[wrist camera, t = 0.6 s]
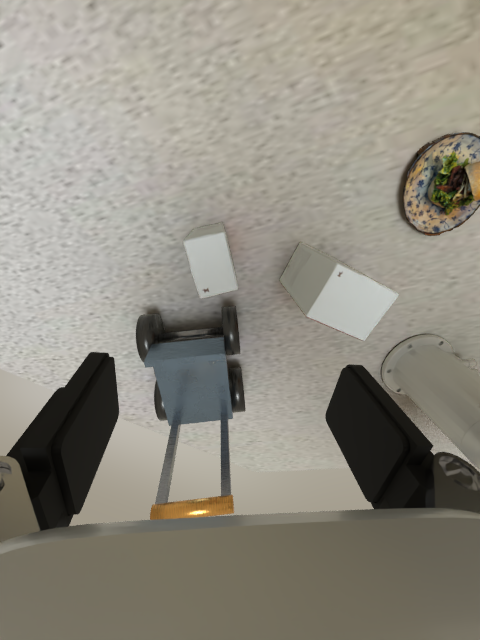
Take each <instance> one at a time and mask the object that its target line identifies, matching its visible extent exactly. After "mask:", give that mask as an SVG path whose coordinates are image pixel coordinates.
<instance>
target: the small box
mask: <svg viewBox="0 0 480 640" xmlns="http://www.w3.org/2000/svg"><path fill="white" fill-rule="evenodd" d="M279 281H280V282H281V284H282V285H283V286H284V288H285V289H286V290H287V292H288V293H289V294H290V296H291V297H292V298H293V300H294V301H295V302H296V304H297V305H298V307H299V308H300V309H301V311H302V312H303V313H304V315H305V316H306V317H307V318H310V319H312V320H314V321H317V322H319V323H321V324H324V325H326V326H329V327H331V328H333V329H336V330H338V331H340V332H343V333H345V334H347V335H350V336H352V337H355V338H357V339H359V340H362V341H364V340H365V339H366V338H367V337H368V335H369V334H370V333H371V331H372V330H373V329H374V327H375V326H376V325H377V323H378V322H379V321H380V319H381V318H382V317H383V315H384V314H385V313H386V311H387V310H388V309H389V308H390V306H391V305H392V304H393V302H394V301H395V300H396V299H397V297H398V296H399V294H398V293H397V292H395V291H393V290H391V289H389V288H388V287H386V286H384V285H382V284H380V283H378V282H377V281H375V280H373V279H371V278H369V277H368V276H366V275H364V274H362V273H361V272H359V271H357V270H355V269H353V268H351V267H349V266H348V265H346V264H344V263H342V262H340V261H339V260H337V259H335V258H333V257H331V256H329V255H327V254H325V253H323V252H321V251H319V250H317V249H315V248H313V247H311V246H309V245H307V244H304V243H302V242H300V243H299V245H298V246H297V248H296V250H295V252H294V254H293V256H292V258H291V259H290V261H289V263H288V265H287V267H286V269H285V271H284V272H283V274H282V276H281V278H280V280H279Z"/></svg>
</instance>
